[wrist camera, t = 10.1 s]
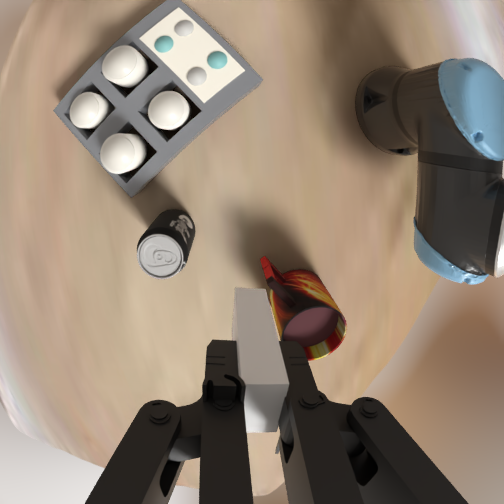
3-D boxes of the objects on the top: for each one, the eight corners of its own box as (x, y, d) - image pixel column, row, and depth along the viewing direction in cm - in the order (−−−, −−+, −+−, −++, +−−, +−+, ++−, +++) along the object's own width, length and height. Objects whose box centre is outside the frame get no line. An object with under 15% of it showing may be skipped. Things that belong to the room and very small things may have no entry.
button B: (131, 126, 37) (118, 124, 32) (154, 151, 39) (145, 153, 34) (106, 152, 38) (92, 154, 33) (129, 177, 40) (117, 182, 35)
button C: (134, 48, 33) (123, 37, 28) (156, 69, 35) (147, 60, 30) (108, 73, 34) (93, 66, 29) (129, 94, 35) (116, 89, 30)
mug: (261, 252, 49) (272, 286, 37) (333, 279, 52) (358, 316, 40) (238, 301, 51) (241, 344, 40) (307, 323, 54) (325, 366, 43)
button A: (175, 89, 38) (169, 82, 33) (198, 113, 40) (195, 109, 35) (149, 113, 39) (139, 110, 34) (172, 137, 40) (165, 137, 36)
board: (178, 6, 33) (173, -7, 29) (259, 85, 39) (263, 78, 35) (67, 112, 37) (51, 110, 33) (139, 192, 43) (130, 198, 39)
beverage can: (156, 205, 44) (134, 227, 33) (198, 211, 45) (189, 234, 34) (153, 245, 47) (132, 278, 36) (193, 251, 48) (184, 285, 36)
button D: (100, 89, 36) (86, 84, 31) (120, 110, 38) (107, 107, 33) (78, 114, 37) (62, 112, 32) (97, 135, 39) (82, 135, 34)
